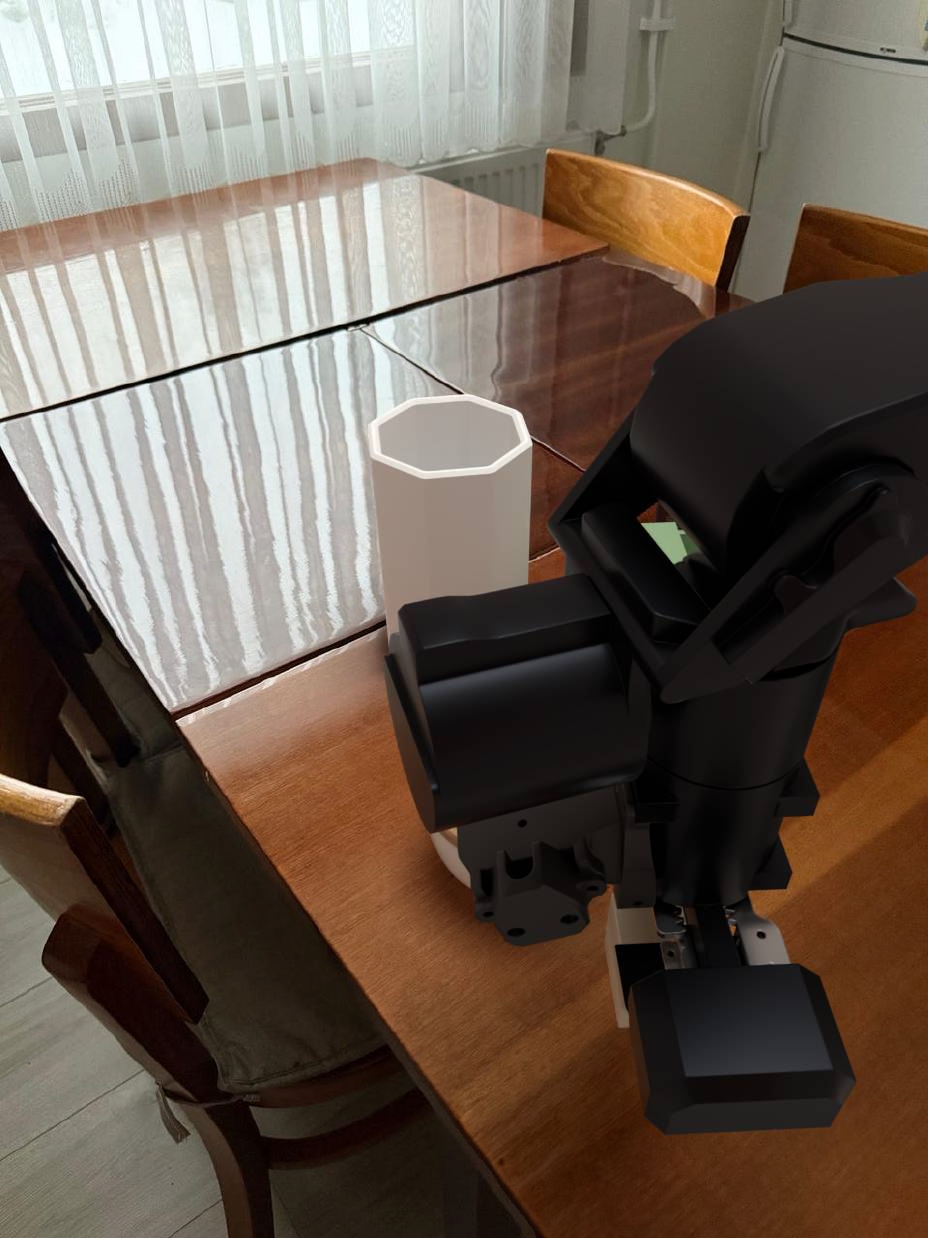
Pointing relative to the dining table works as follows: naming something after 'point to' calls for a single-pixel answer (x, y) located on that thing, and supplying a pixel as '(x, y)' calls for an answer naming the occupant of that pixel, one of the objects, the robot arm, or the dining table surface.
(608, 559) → the robot arm
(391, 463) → the cup
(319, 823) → the dining table surface
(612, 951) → the block
